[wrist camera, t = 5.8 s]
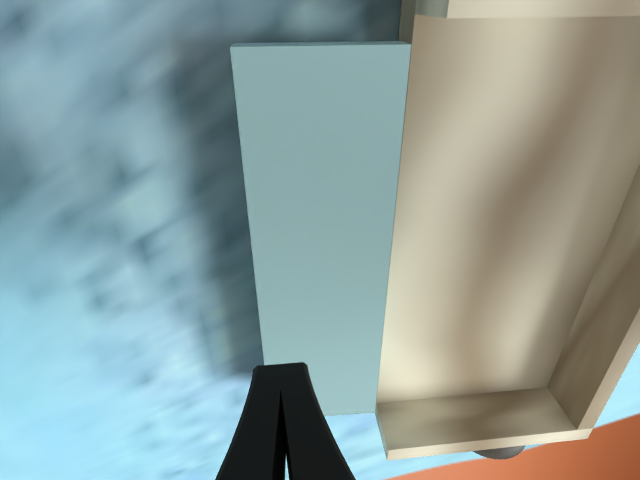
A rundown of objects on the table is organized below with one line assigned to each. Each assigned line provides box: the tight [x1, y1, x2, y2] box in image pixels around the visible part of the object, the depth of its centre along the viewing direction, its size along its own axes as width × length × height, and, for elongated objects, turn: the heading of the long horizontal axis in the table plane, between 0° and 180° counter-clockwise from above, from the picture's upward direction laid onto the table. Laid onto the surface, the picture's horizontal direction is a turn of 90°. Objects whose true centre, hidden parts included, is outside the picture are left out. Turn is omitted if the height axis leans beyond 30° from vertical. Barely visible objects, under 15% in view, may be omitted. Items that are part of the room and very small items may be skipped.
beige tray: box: [375, 0, 640, 460], centre depth 16 cm, size 10×21×4 cm, turn 0°
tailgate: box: [230, 41, 411, 416], centre depth 16 cm, size 1×16×5 cm
